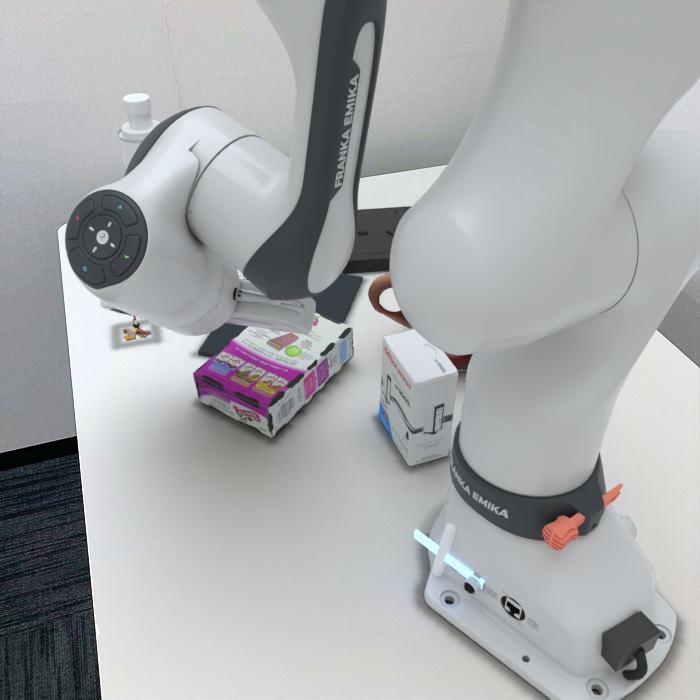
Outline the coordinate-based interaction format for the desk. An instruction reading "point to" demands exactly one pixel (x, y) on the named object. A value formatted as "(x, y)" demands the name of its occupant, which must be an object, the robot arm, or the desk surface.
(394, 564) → the desk surface
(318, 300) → the mat
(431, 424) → the ink box
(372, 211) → the picture frame
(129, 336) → the diorama
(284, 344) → the candy bar box
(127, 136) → the white bottle
